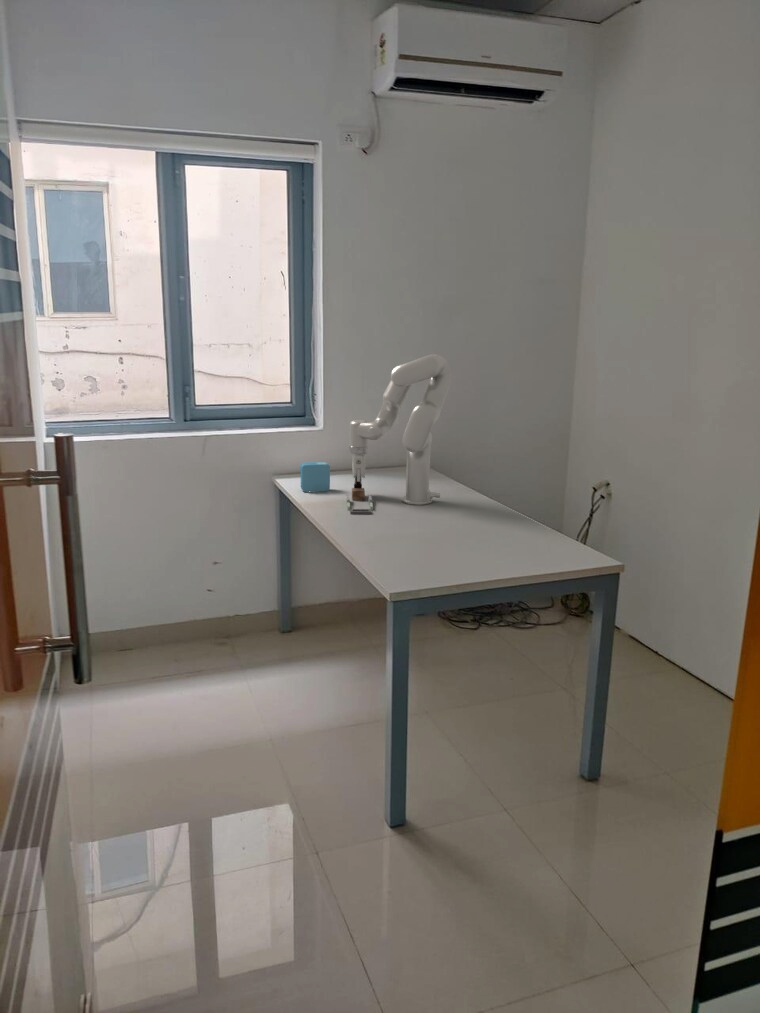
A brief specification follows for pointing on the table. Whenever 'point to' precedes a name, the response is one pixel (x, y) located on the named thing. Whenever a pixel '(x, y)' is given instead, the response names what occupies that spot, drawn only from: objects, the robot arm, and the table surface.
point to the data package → (315, 476)
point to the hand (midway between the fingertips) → (357, 493)
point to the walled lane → (369, 499)
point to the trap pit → (360, 511)
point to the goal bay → (349, 506)
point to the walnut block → (358, 494)
